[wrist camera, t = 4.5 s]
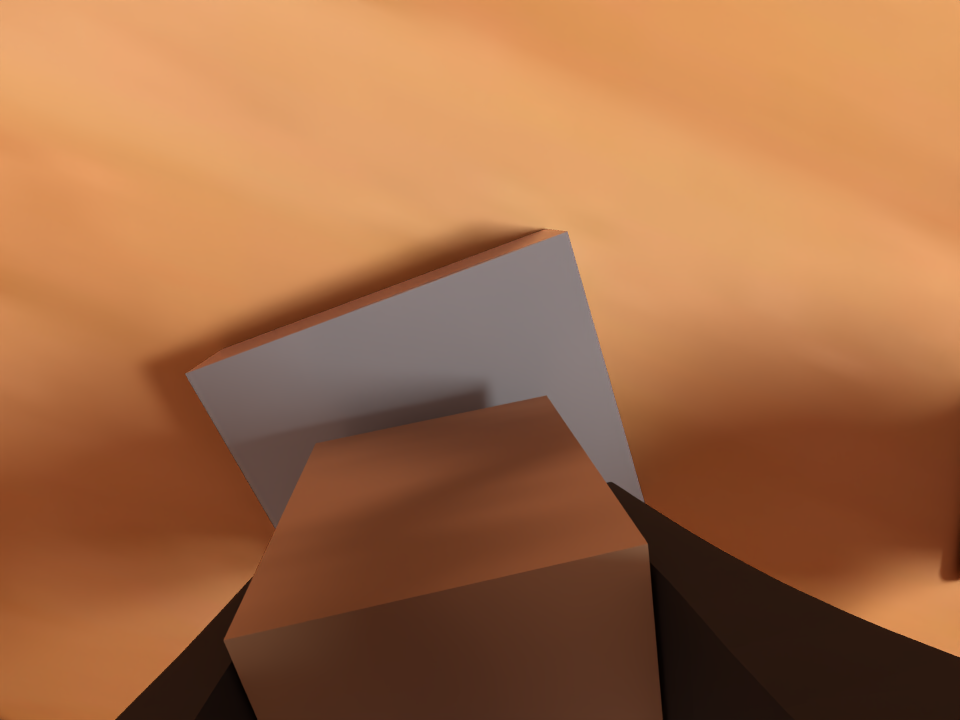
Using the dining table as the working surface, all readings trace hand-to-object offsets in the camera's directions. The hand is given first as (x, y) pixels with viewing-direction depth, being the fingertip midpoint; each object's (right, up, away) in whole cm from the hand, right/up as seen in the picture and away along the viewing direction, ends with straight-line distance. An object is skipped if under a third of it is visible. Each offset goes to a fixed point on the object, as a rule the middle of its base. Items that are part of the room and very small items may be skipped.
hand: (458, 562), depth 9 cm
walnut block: (0, 0, +2) cm, 2 cm away
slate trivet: (-1, +2, +6) cm, 6 cm away
